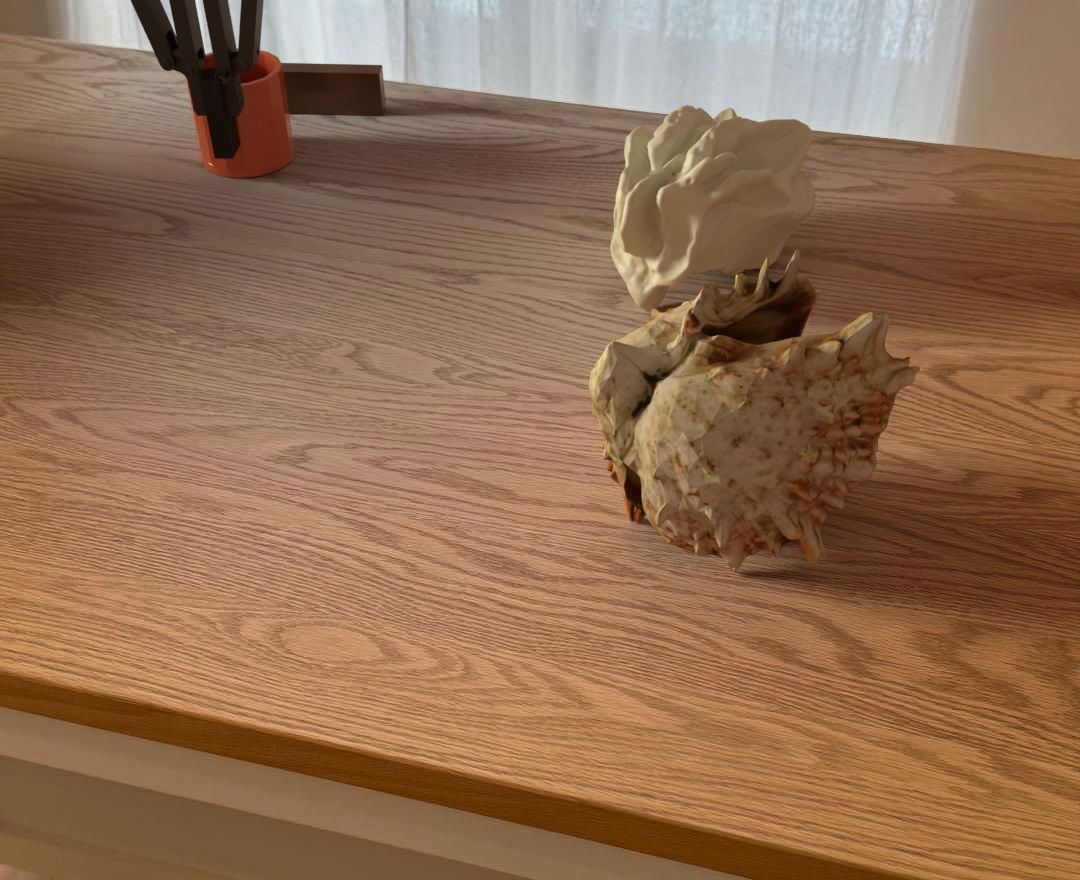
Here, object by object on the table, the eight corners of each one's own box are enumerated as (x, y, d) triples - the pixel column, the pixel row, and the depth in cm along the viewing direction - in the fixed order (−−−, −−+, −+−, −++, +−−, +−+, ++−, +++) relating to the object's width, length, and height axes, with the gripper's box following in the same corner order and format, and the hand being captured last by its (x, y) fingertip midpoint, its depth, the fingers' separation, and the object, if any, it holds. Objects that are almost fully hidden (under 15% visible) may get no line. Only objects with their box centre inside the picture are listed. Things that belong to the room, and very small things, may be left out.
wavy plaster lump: (692, 303, 105) (725, 111, 100) (817, 331, 96) (860, 121, 91) (533, 293, 93) (564, 73, 88) (660, 324, 84) (700, 81, 79)
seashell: (974, 271, 61) (813, 181, 73) (645, 365, 57) (530, 253, 69) (944, 558, 72) (807, 439, 83) (664, 655, 67) (561, 516, 79)
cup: (192, 177, 107) (173, 86, 102) (214, 135, 113) (197, 47, 107) (284, 179, 107) (270, 88, 101) (301, 137, 113) (289, 49, 107)
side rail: (234, 112, 116) (227, 70, 114) (239, 103, 118) (232, 61, 115) (383, 115, 116) (379, 73, 113) (386, 106, 117) (382, 64, 114)
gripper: (58, -151, 85) (137, 170, 101) (246, -150, 84) (295, 173, 101) (93, -180, 91) (163, 129, 107) (270, -178, 90) (313, 132, 106)
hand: (227, 150), depth 104 cm, fingers closed
